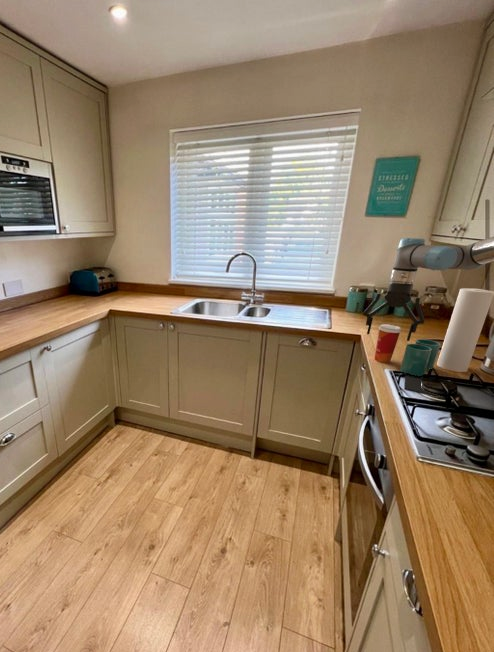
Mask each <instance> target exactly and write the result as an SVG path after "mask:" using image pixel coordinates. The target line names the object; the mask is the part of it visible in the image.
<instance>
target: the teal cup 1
mask: <svg viewBox="0 0 494 652" xmlns="http://www.w3.org/2000/svg"><path fill="white" fill-rule="evenodd" d="M431 350H432V349H431V348H430V347H427V346H424V345H419V344H415V343H407V344H406V346H405V349H404V354H403V356H402V360H401V365H400V369H399V372H400V371H401V372H400V373H402V372H404V373H409V374H411V375H415V376H416V375H417V376H422V375H424V376H425V373H426V371H425V370H426V367H427V364H428V360H429V357H430V354H431ZM404 373H403V374H404ZM422 377H423V376H422Z"/></svg>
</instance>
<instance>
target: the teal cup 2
mask: <svg viewBox="0 0 494 652" xmlns="http://www.w3.org/2000/svg"><path fill="white" fill-rule="evenodd" d="M414 344H419V345H424V346H427V347H430V348H431V349H432V350H431V354H430V357H429V360H428V364H427V367H426V370H425V372H427V371H428V370H429V368H433V369H434V367H435V363H436V362H437V361H436V360H437V357H438V354H439V352H440V347H441V343H440V342H439V341H436V340H432V339H427V338H425V339H423V338H419V339H418V338H417V339H416V340H415V343H414ZM428 372H429V371H428Z"/></svg>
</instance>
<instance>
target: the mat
mask: <svg viewBox="0 0 494 652" xmlns="http://www.w3.org/2000/svg"><path fill="white" fill-rule="evenodd" d="M421 379H422V378H420V377H414V376H409V375H404V386H403V387H404V388H403V389H404V390H405V391H410V392H415V393H418V394H423V395H427V396H431V395H432V396H433V397H436V396H440V395H437V394H434V393H431V392H428V391H425V390H423V389H422V388H421ZM432 396H431V397H432Z"/></svg>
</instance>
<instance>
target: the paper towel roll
mask: <svg viewBox="0 0 494 652" xmlns="http://www.w3.org/2000/svg"><path fill="white" fill-rule="evenodd" d="M493 298H494V291H493V290H487V289H483V288H469V287H467V288H464V287H462V288H459V292H458V294H457V298H456V301H455V305H454V307H453V311H452V314H451V317H450V320H449V324H448V327H447V329H446V333H445V336H444V340H443V343H442V347H441V349H440V351H439V356H438V359H437V361H436V366H437V367H439V368H441V369H444V370H447V371H451V372H455V373H456V372H457V373H466V372H468V370H469V368H470V364H471V361H472V359H473V356H474V353H475V350H476V346H477V344H478V341H479V338H480V336H481V332H482V330H483V328H484V327H483V326H484V324H485V321H486V318H487V315H488V313H489V309H490V307H491V304H492V301H493Z"/></svg>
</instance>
